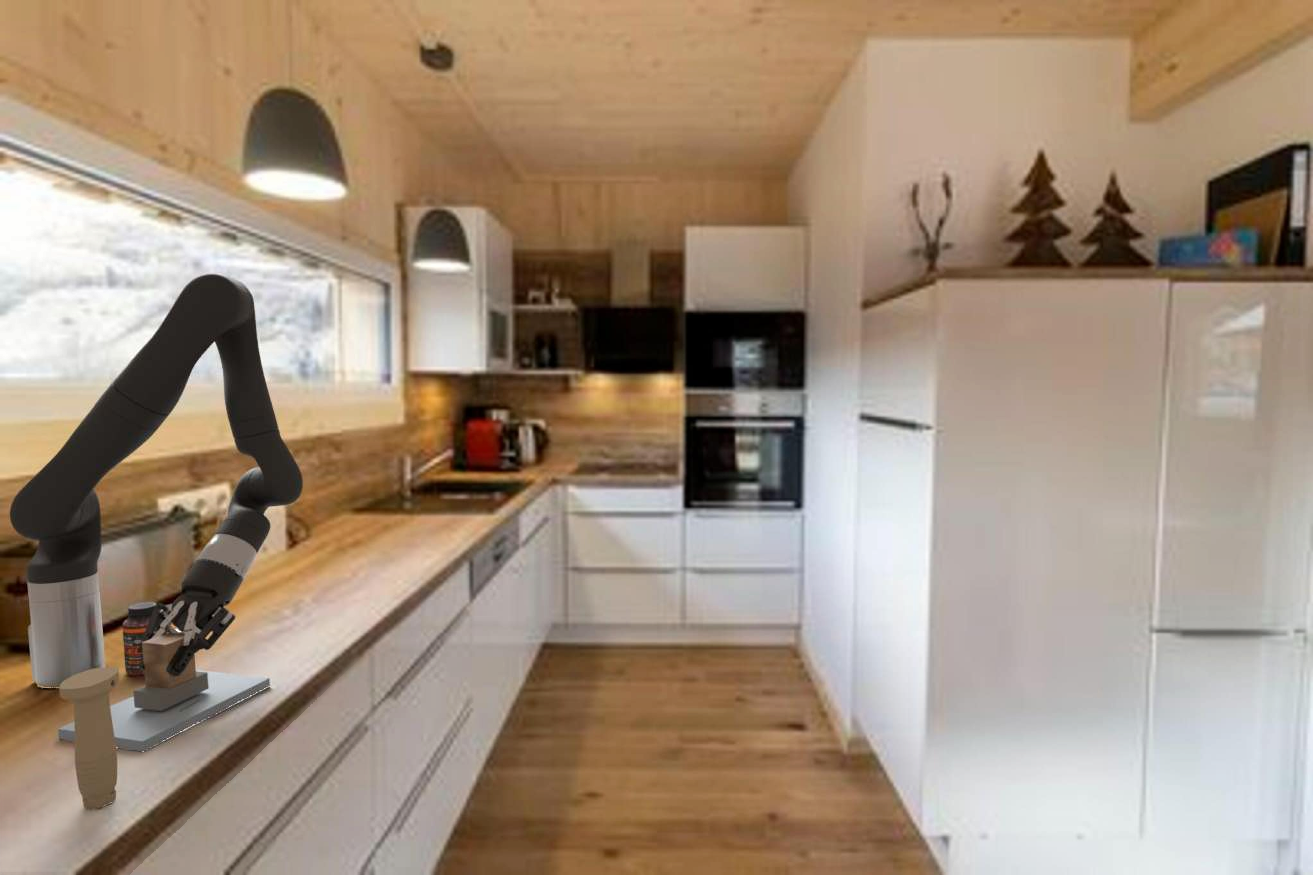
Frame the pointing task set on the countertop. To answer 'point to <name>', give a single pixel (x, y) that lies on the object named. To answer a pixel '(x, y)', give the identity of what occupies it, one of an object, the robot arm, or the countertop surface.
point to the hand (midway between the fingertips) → (158, 671)
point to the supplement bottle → (136, 635)
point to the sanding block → (167, 675)
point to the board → (174, 712)
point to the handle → (93, 734)
